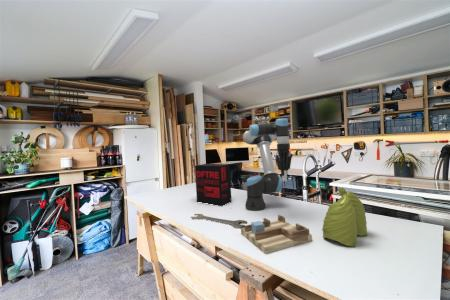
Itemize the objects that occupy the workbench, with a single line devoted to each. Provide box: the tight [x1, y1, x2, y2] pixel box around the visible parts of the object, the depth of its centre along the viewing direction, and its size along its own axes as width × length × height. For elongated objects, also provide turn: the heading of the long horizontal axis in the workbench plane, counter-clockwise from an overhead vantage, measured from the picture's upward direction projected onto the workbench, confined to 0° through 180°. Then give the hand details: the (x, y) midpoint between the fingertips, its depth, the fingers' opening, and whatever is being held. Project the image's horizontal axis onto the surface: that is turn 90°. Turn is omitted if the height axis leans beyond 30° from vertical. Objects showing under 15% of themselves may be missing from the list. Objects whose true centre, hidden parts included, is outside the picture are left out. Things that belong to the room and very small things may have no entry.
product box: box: [194, 163, 232, 207], centre depth 184 cm, size 26×14×32 cm, turn 55°
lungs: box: [321, 187, 368, 248], centre depth 108 cm, size 25×16×24 cm, turn 129°
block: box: [250, 220, 265, 234], centre depth 111 cm, size 5×5×5 cm
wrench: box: [190, 213, 248, 229], centre depth 140 cm, size 42×10×2 cm, turn 57°
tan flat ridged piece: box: [240, 214, 313, 254], centre depth 112 cm, size 24×27×6 cm
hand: (284, 180), depth 136 cm, fingers closed
